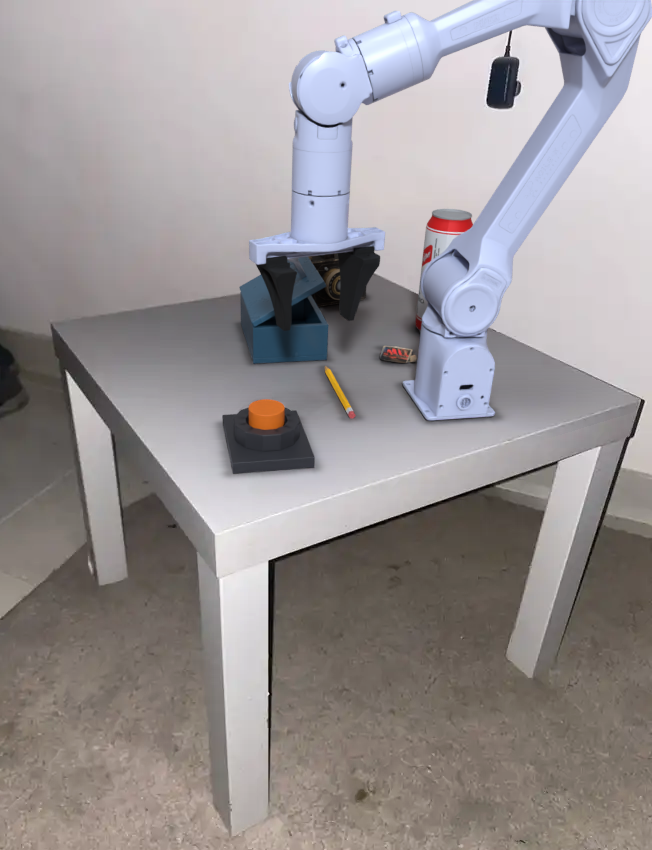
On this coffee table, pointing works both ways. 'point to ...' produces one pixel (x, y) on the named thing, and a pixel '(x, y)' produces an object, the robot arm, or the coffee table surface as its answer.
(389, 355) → the matchbox
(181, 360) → the coffee table surface
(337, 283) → the camera
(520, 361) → the coffee table surface
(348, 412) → the pencil
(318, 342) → the blue box
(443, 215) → the beer can
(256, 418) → the button
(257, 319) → the blue box lid
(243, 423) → the control block
